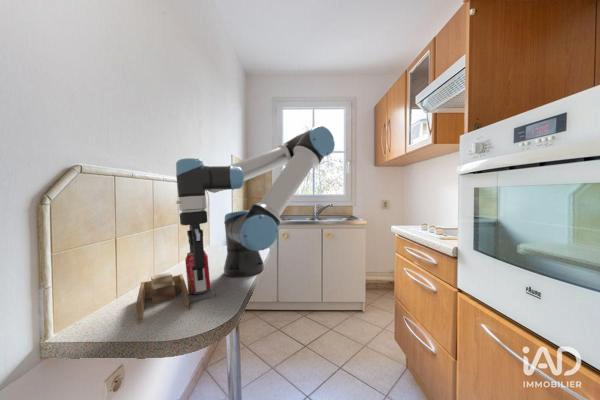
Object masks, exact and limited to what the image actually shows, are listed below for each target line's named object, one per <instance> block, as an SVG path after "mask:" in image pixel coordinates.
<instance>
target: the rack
mask: <svg viewBox="0 0 600 400" xmlns="http://www.w3.org/2000/svg"><path fill="white" fill-rule="evenodd" d="M172 279H173V281H174V284H175V293H177V292H180V293H181V298H182V301H183V304H185V305H184V308H186V309H185V311H189V310H190V303H189V300H188V286H187V284H186V281H185V279H184V275H183V274H182V273H181V274H176V275H172ZM151 287H152V282H151V280H147V281H143V282H141V281H140V287H139V289H138V290H139V291H138V295H137V298H136V314H137V315H136V316H137V324H142V323H143V319H144V313H145V306H146V305H145V304H146V300H148V299H152V295H151Z"/></svg>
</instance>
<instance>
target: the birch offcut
mask: <svg viewBox="0 0 600 400" xmlns="http://www.w3.org/2000/svg"><path fill="white" fill-rule="evenodd" d="M172 276H173V273H171V272H165V273H161V274H156V275H152V276H150V278H151V279H150V281H151V282H152V288H153V289H157V288H161V287H165V286H169V285H173V279H172Z"/></svg>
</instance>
